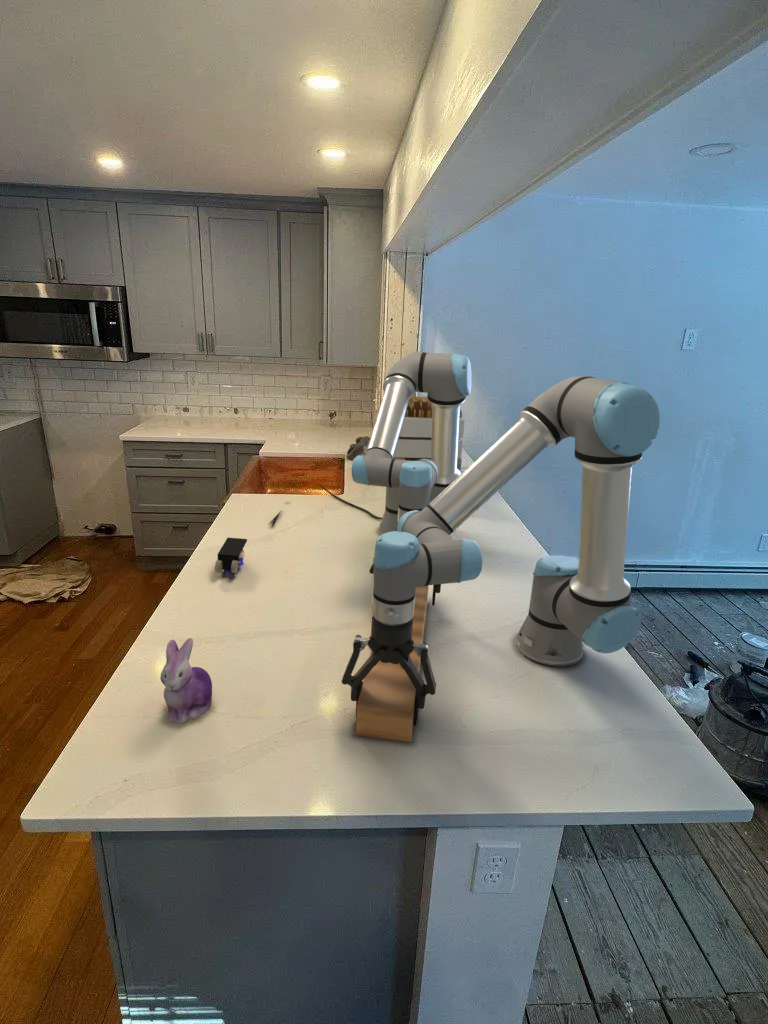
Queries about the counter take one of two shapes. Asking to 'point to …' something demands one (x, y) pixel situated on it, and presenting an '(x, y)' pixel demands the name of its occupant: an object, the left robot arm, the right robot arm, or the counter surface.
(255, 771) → the counter surface
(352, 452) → the fossil
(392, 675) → the thick board
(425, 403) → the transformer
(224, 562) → the figurine character
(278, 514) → the feather
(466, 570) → the right robot arm
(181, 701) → the figurine
